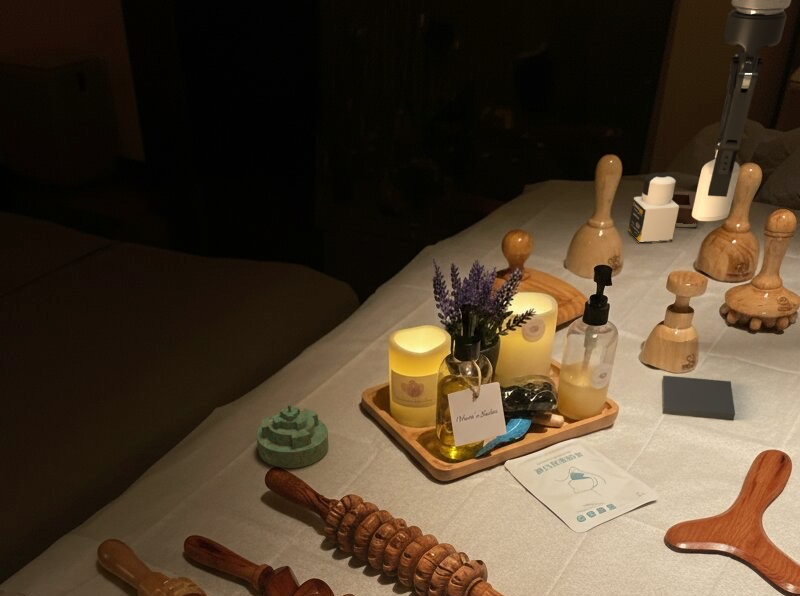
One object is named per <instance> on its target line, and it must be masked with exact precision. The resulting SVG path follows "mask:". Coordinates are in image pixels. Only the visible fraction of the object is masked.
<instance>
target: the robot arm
mask: <svg viewBox="0 0 800 596" xmlns="http://www.w3.org/2000/svg"><path fill="white" fill-rule="evenodd" d="M730 2H731V3H730V5H731V6H732V7H734V9H731V10H730V12H728V15H727V19H726V24H725V28H724V33H723V42H725V44H728V45H731V46H734V47H738V50H737V51H738V52H737V53H735V54H734V55H732V56H731V59H730V63H729V75H728V80H727V83H726V96H725V99H724V104H723V109H722V112H721V117H720V122H719V123H718V129H719V130H718V131H717V135H718V138H716V143H715V144H714V148H713V150H714V152H713V156H712V160H714V159H715V155H716V150H718V151H717V155H716V160H715V164H714V169H713V173H712V177H711V182H710V186H709V191H708V196H721V197H727V193H728V189H729V184H730V180H731V176H732V172H733V168H734V164H735V162H736V158H737V155H738V150H740V148H741V146H742V140H743V136H744V131H745V127H746V123H747V118H748V114H749V111H750V107H751V102H752V99H753V96H754V93H755V90H756V86H757V80H758V79H759V75H761V71H762V67H763V60H762V57H761V56H760V52H761V51H760V50H761V48H764V47H766V48H769V47H774V46H776V45H778V44H779V43H780V41H781V40H782V36H783V32H784V28H785V25H786V21H787V16H788V15H787V14H786V11H785V9H787V8H788V7H790V5H791V2H792V0H731V1H730ZM720 142H721V143H720ZM718 143H720V145H718Z"/></svg>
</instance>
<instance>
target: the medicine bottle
mask: <svg viewBox="0 0 800 596" xmlns="http://www.w3.org/2000/svg"><path fill="white" fill-rule="evenodd" d="M676 183H677V179H676V177H675V176H674V175H672V174H669V173H665V172H653V173H650V174H648V175H646V176H645V177H644V180H643V187H642V192H641V196H634V197H633V200H632V206H631V211H630V217H629V224H628V229H627V231H628V230H629V231H630V232H631V233H632V235H633V236H634V237H635V238H636V239H637V240H638V241H639V242H644V241H659V240H669V239H672V240H674V233H675V229H676V227H675V224H676V219H677V215H678V210H679V206H678V205H677V204H676V203H675V202H674V201H673V200H672V198H673V193H674V191H675V187H676ZM632 235H631V236H632ZM633 236H632V237H633ZM634 237H633V238H634ZM635 238H634V239H635ZM636 239H635V240H636ZM637 240H636V241H637ZM638 241H637V242H638ZM639 242H638V243H639Z"/></svg>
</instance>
